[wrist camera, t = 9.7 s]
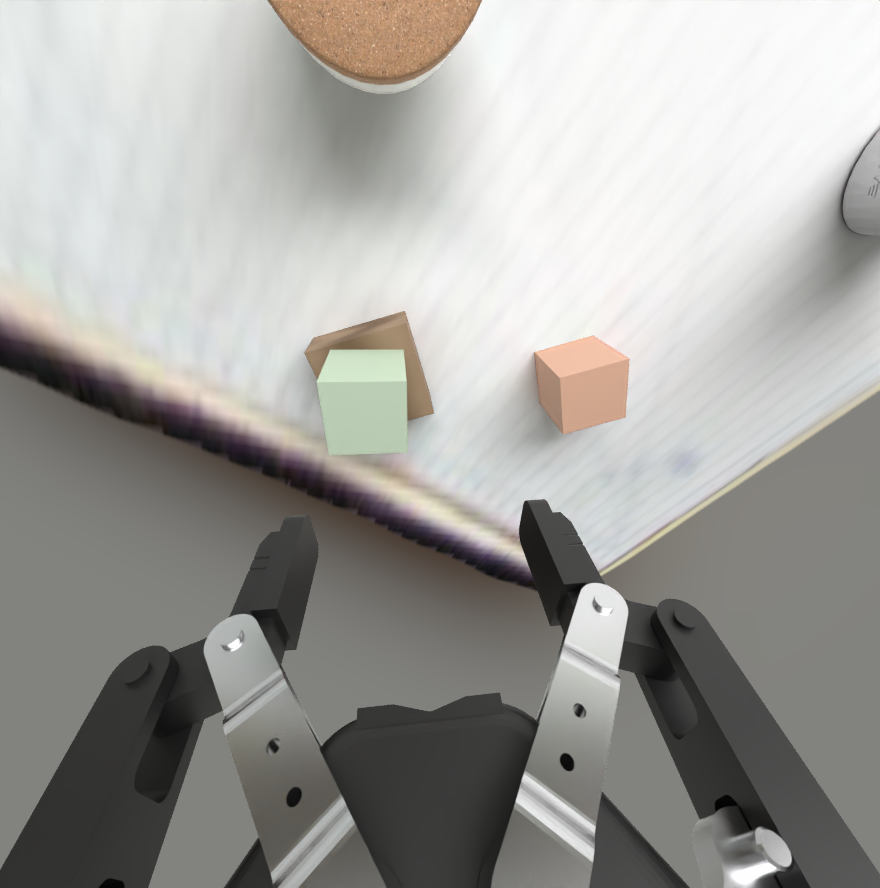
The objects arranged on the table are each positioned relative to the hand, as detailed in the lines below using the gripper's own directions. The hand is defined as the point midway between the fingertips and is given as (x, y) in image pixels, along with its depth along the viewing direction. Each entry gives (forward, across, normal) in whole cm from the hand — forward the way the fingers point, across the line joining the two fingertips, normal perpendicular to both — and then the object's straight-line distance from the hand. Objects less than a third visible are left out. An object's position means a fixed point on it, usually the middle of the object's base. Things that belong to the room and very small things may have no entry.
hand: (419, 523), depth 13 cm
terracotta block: (+21, -15, +3) cm, 26 cm away
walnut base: (+21, +3, +2) cm, 22 cm away
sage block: (+17, +3, +2) cm, 18 cm away
